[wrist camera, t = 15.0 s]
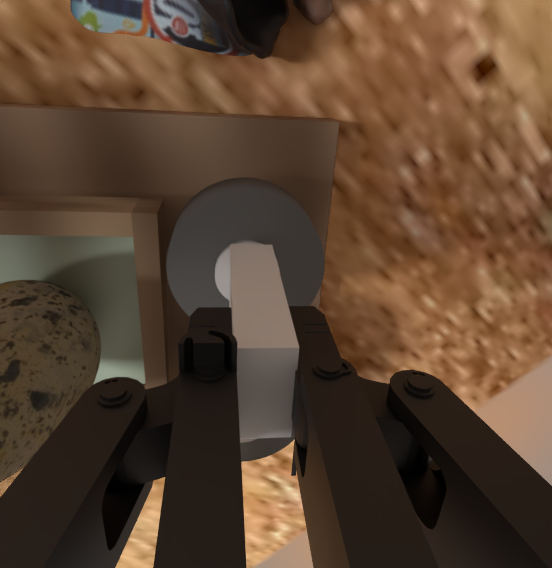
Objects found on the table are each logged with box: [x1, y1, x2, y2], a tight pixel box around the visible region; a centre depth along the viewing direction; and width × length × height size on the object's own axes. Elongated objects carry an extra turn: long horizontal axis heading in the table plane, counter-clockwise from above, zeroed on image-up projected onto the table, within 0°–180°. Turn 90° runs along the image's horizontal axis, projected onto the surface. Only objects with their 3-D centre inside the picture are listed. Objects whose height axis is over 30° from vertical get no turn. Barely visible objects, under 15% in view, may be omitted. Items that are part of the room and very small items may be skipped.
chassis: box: [0, 103, 339, 462], centre depth 20 cm, size 20×15×6 cm
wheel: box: [166, 177, 325, 316], centre depth 18 cm, size 6×6×3 cm
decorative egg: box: [0, 280, 101, 482], centre depth 17 cm, size 6×6×10 cm
